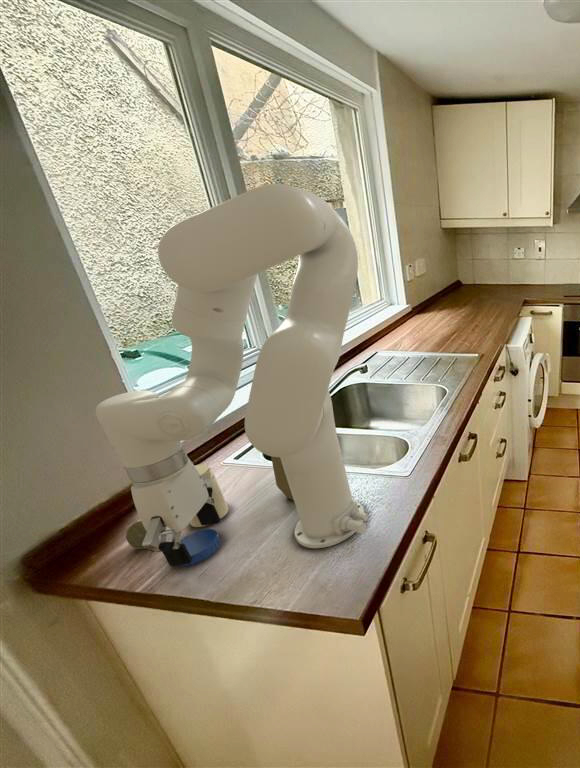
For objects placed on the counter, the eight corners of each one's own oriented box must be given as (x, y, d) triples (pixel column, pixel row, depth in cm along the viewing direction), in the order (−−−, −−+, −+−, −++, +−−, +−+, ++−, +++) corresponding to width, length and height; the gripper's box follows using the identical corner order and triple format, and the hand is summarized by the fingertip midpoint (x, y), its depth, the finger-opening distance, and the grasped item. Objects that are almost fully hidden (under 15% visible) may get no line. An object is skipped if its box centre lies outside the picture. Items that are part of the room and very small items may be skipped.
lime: (166, 542, 74) (155, 521, 72) (132, 557, 71) (120, 536, 69) (163, 530, 77) (153, 510, 75) (131, 544, 74) (119, 523, 72)
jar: (235, 508, 82) (218, 465, 78) (204, 529, 76) (184, 484, 72) (214, 503, 84) (196, 461, 80) (183, 524, 78) (161, 479, 74)
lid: (165, 560, 70) (160, 552, 69) (204, 532, 76) (201, 525, 75) (191, 570, 68) (187, 562, 67) (229, 541, 74) (226, 533, 73)
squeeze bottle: (305, 505, 82) (282, 431, 75) (272, 501, 84) (246, 428, 76) (329, 482, 89) (310, 412, 82) (298, 478, 91) (277, 410, 84)
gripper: (166, 440, 72) (201, 513, 78) (90, 502, 56) (142, 586, 63) (210, 434, 73) (241, 507, 79) (148, 494, 57) (193, 578, 64)
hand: (197, 542), depth 71 cm, fingers open, 9 cm apart
